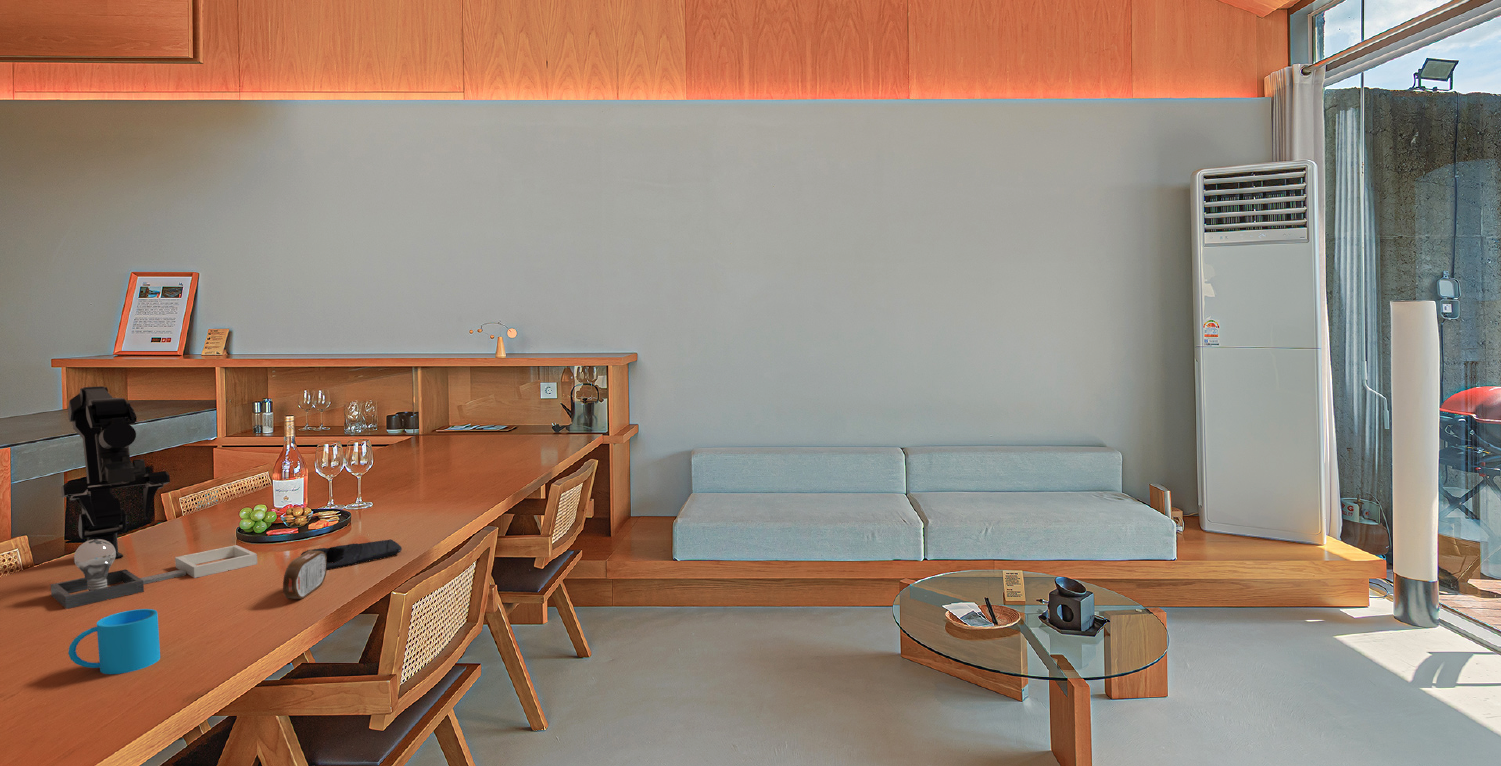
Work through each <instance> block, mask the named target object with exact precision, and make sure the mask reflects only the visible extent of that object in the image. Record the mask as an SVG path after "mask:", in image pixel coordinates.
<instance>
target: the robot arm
mask: <svg viewBox="0 0 1501 766" xmlns="http://www.w3.org/2000/svg"><path fill="white" fill-rule="evenodd" d="M67 408H68V409H67V417H68V421H69V422H70V423H72V429H73V430H74V432H76V433H77V435H79V436H80V438H81V439H82V444H83V445H82V446H83V447H82V448H83V453H84V455H83V456H84V464H85V472H86V479H85V480H77V481H71V482H66V483H64V484H63V485H62V486H60V497H61V498H69V501H76V503H77V504H78V506H79V507H81V513H80V514H79V518H78V527H77V529H78V535H79V537H80V539H81V540H83V539H84V540H85V539H87V541H89V540H92V539H103V540H106V541H108V542H110V543H111V544H112V545H113V546H114V548H115V550H116V557H115V559H121V558H123V557H124V554H122V552H119V545H118V543H119V541H118V534H120V533H126V531H128V530H127V529H128V528H127V527H128V526H127V524H128V523H127V522H128V512H126V511H125V509H124V508H122V507H121V502H120V499H119V498H118V497H116V496H115V495H114V494H113V493H112V492H111V491H112V489H118V488H127V487H135V486H142V485H143V486H145V487H144V488H143V489H142V490H143V516H144V519H148V518H149V515H150V511H151V508H152V503H153V501H154V498H155V495H156V493H157V491H158V490H160V489H162V488H164V485H167V484H169V483H171V478H170V474H169V472H168V471H166V470H164V471H157V472H147V473H146V463H145V459H144V458H141V459H133V460H132V461H131V454H130V453H131V452H130V447H129V446H131V445H132V444H133V443H134V441H136V438H137V431H136V430H135V428H134V427H133V425H135V424H136V423H137V418H138V417H137V415H136V412H135V410H134V407H133V406H131V404H130V402H128V401H127V400H126V399H125V398H123V397H113V395H111V394H110V393H109V390H108V387H106V386H105V387H104V386H102V385H100V386H84V387H82V388H80V389H79V393H78V394H76V395H75V396H73V397H72V398H71V399H70V400H69V401H68V407H67ZM139 475H143V476H140V477H138V476H139ZM136 476H137V477H136Z"/></svg>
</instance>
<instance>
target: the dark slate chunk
mask: <svg viewBox="0 0 1501 766" xmlns="http://www.w3.org/2000/svg"><path fill="white" fill-rule="evenodd" d="M310 550H311V549H307V550H305V551H303V552H302V553H300V556H301V555H303V554H304V553H306V552H308V551H310ZM312 550H313V551H322V552H324V553H325V554H326V557H327V560H326V571H327V570H331V569H332V570H333V568H334V569H339V568H338V567H340V568H343V566H345V567H348V565H349V566H354V565H356V564H355V563H357V564H361V563H360V562H363V563H366V561H367V562H370V561H369V560H372V561H374V560H373V559H377V560H381V559H380V558H383V559H385V558H384V557H386V558H388V557H387V556H389V557H393V556H395V555H396V554H399V553H401V552H402V550H403V548H402V545H400V544H399V543H398V542H396V541H395V540H393V539H385V540H382V539H381V540H377V541H368V542H363V543H362V542H361V543H356V542H355V543H349V544H342V545H336V546H330V547H327V548H326V547H322V548H321V547H319V548H314V549H312ZM392 555H393V556H392ZM328 562H329V563H328ZM332 562H333V563H332ZM353 564H354V565H353Z"/></svg>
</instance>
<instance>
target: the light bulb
mask: <svg viewBox="0 0 1501 766" xmlns="http://www.w3.org/2000/svg"><path fill="white" fill-rule="evenodd" d="M115 557H116V550H115V548H114V546H113V545H112V544H111V543H110V542H108V541H106V540H103V539H92V540H89V541H88V540H86V541H84V542H83V543H82V544H80V545H79V546H78V548H77V549H76V550H75V552H74V557H73V561H74V564H75V566H76V567H77V568H78V569H79V571H81V572H82V574H83V576H84V578H85V579H86V580H87V581H88V582H87V584H88V585H87V587H88V588H87V591H90V590H95V589H100V588H104V587H108V585H107V580H106V578H107V576H108V573H110V572H109V571H110V568H111V566H112V565H113V563H114V562H115V559H116V558H115Z"/></svg>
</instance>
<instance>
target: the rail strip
mask: <svg viewBox="0 0 1501 766" xmlns="http://www.w3.org/2000/svg"><path fill="white" fill-rule="evenodd" d="M186 575H187V573H186V572H185V571H183V570H182V569H181V570H179V569H177V570H173V571H169V572H164V573H159V574H153V575H149V576H143V577H139V578H140V579H142V580H143V585H148V584H152V583H156V581H157V582H160V581H165V580H171V579H175V578H174V577H176V578H180V577H184V576H185V577H186ZM170 578H171V579H170Z"/></svg>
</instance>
